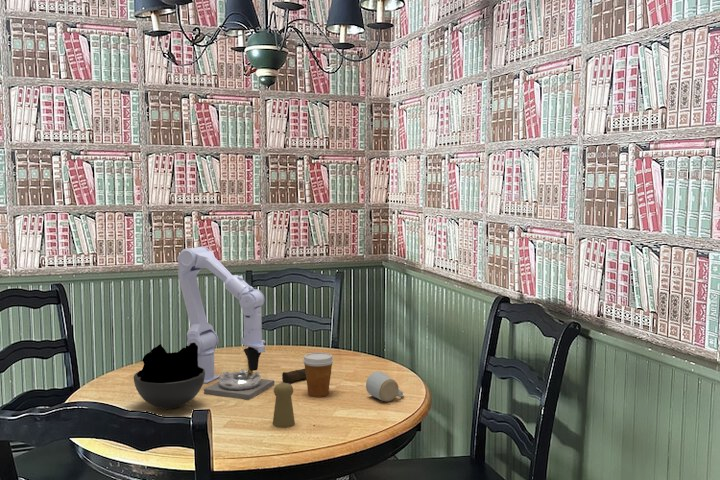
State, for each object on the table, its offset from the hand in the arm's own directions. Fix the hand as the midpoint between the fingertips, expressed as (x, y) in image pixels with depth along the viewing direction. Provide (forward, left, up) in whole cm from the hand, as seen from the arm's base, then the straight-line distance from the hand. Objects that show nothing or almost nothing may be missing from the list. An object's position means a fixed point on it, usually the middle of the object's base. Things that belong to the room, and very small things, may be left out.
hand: (253, 370), depth 215 cm
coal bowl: (-12, -26, -6) cm, 30 cm away
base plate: (-2, -4, -5) cm, 7 cm away
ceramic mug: (+43, +5, -6) cm, 44 cm away
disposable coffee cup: (+23, +1, -6) cm, 23 cm away
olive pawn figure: (+25, -26, -6) cm, 36 cm away
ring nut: (-2, -4, -4) cm, 6 cm away
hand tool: (+12, +15, -6) cm, 20 cm away
